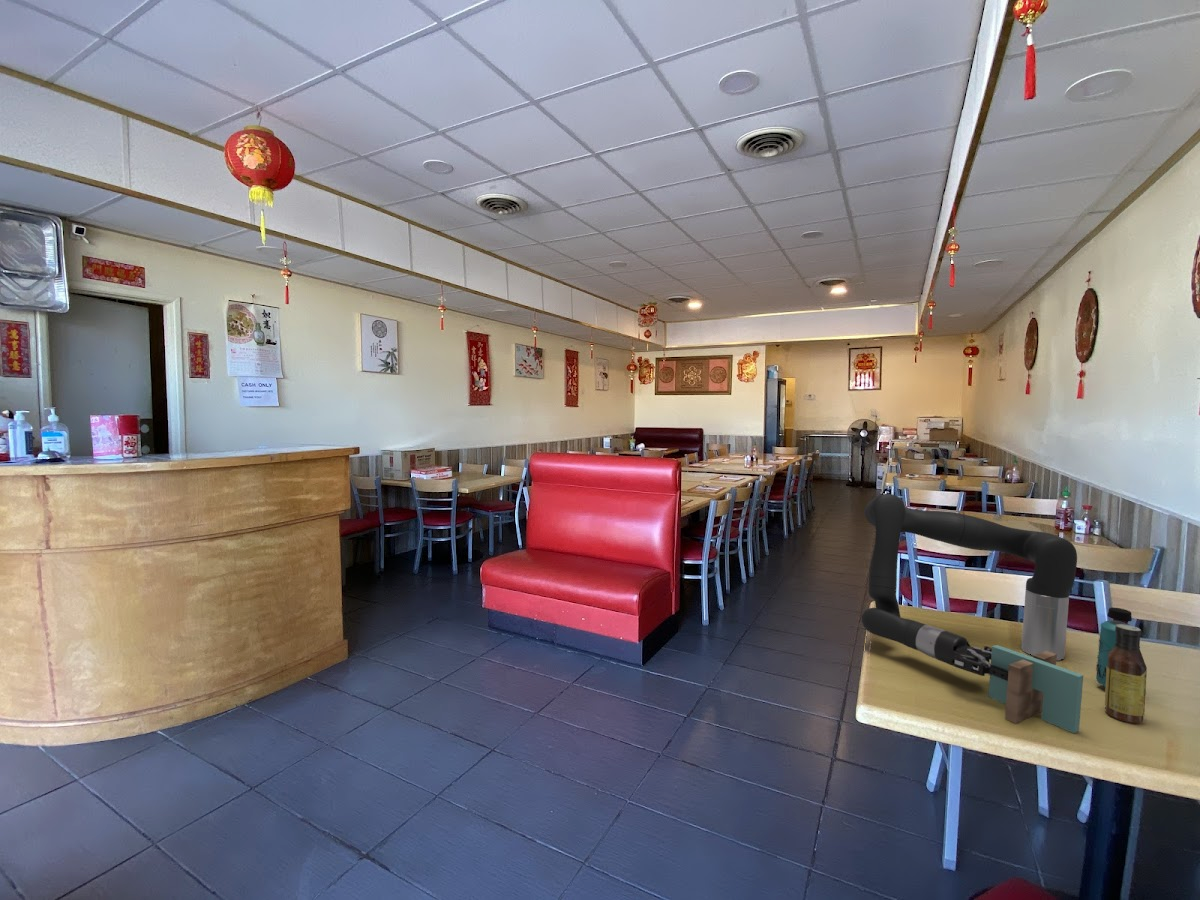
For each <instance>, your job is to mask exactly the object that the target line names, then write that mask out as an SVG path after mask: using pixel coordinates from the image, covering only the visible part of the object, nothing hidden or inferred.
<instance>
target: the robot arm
mask: <svg viewBox="0 0 1200 900" xmlns="http://www.w3.org/2000/svg"><path fill="white" fill-rule="evenodd" d="M863 514H864V517H865V520H866V521H867V522H868V523H869V524H870V525H871V526H872V527H874V528H875V538H874V539H875V540H874V546H873V551H872V555H871V559H870V565H869V571H868V573H869V574H868V588H867V590H868V591H867V592H868V595H869V597H870V598H872V599H873V600H874V605H875V607H870V608H868V609H866V610H864V611H863V612H862V614H861V617H860V619H861V620H860V621H861V623H862V627H864V629H865V630H866V631H867V632H868V633H870V634H873V635H876V636H878V637H880V638H884V639H888V640H891V641H894V642H896V643H899V644H902V645H903V646H905V647H908V648H910V649H913V650H916V651H918V652H921V653H922V654H924V655H925V656H928V657H931V658H933V659H935V660H938V661H940V662H941V663H944V664H947V665H950V666H951V667H952V666H953V667H955V668H957V669H960V670H963V671H965V672H969V673H972V674H974V675H978V676H980V677H981V676H982V677H984V676H985V675H987V676H989V677H990V676H991V675H993V676H996V677H999V678H1001V679H1004V680H1006V681H1008V671H1009V670H1006V669H1004V668H1001V667H999V666H996V665H994V666H993V664H991V662H990V661H991V654H992V647H990V646H986V645H984V646H983V649H982V648H981V647H978V646H977V647H976V646H971V645H970V644H969V643H970V642H969V641H968V640H967V638H966V637H965V636H962V635H959V634H957V633H953V632H951V631H948V630H945V629H942V628H940V627H936V626H933V625H929V624H926V623H923V622H919V621H917V620H913V619H909V618H905V617H901V613H900V607H899V601H898V599H897V587H898V586H897V585H898V584H897V583H898V579H897V578H898V558H899V546H900V540H901V535H902V533H908V534H912V535H916V536H917V535H918V536H920V537H924V538H927V539H931V540H934V541H938V542H941V543H946V544H950V545H953V546H957V547H961V548H965V549H970V550H974V551H975V550H977V551H988V552H989V551H990V552H991V551H992V552H1002V553H1005V554H1008V555H1009V554H1010V555H1013V556H1016V557H1020V558H1021V559H1025V560H1027V561H1030V562H1032V563H1034V568H1033V569H1034V570H1033V576H1032V577H1029V578H1027V579H1026V582H1025V596H1024V606H1023V607H1024V608H1023V609H1024V610H1023V620H1022V621H1023V622H1022V635H1021V646H1020V647H1021V648H1020V649H1021V651H1023V652H1024V653H1026V654H1027V655H1030V654H1031V655H1030V656H1033V655H1036V654H1039V653H1041V652H1044V651H1049V652H1052V653H1055V654H1057V659H1056V661H1062V660H1061V659H1063V660H1064V659H1065V652H1066V639H1067V627H1068V615H1069V601H1070V592H1071V590H1072V589H1073V587H1074V585H1075V579H1076V573H1077V564H1078V553H1077V550H1076V547H1075V545H1074V544H1073V543H1072V542H1071V541H1069V540H1068V539H1065V538H1064V537H1062V536H1058V535H1055V534H1053V533H1049V532H1046V531H1045V532H1044V531H1043V532H1042V531H1035V530H1026V529H1022V528H1015V527H1010V526H1006V525H1003V524H1000V523H997V522H993V521H990V520H987V519H983V518H980V517H978V516H977V517H976V516H973V515H968V514H963V513H959V512H952V511H944V510H943V511H942V510H941V511H940V510H921V509H920V510H919V509H915V508H911V507H907V506H905V504H904V502H903V500H902V499H901V498H900V497H899V496H897V495H895V494H893V493H885V494H880V495H878V496H876V497H875V498H873V499H872V500H870V501H869V502H867V504H866V506H865V508H864V511H863Z"/></svg>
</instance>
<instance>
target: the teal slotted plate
mask: <svg viewBox="0 0 1200 900" xmlns="http://www.w3.org/2000/svg"><path fill="white" fill-rule="evenodd" d="M991 648H992V654H991V660H990V663H991V664H993V666H994V665H996V666H999V667H1001V668H1004V669H1006V670H1009V664H1012V663H1015V662H1017V661H1020V660H1026V661H1029V662H1031V663H1034V664H1033V677H1032V688H1033V689H1036V690H1038V691H1041V692H1043V704H1042V711H1041V717H1040V718H1041V719H1042V721H1044V722H1046V723H1048V722H1049V724H1051V725H1053V724H1054V725H1053V726H1055V725H1056V727H1058V726H1059V727H1058V728H1060V727H1061V729H1062V728H1063V730H1065V731H1067V730H1068V731H1067V732H1069V731H1070V733H1072V734H1076V733H1078V732H1080V720H1081V711H1082V699H1083V698H1082V697H1083V685H1084V674H1081V673H1078V672H1076V671H1072V670H1070V669H1067V668H1064V667H1061V666H1059V665H1057V664H1056V665H1053V664H1050V663H1048V662H1045V661H1042V660H1039V659H1036V658H1033V657H1032V656H1031V655H1030V656H1029V655H1028V654H1027V655H1026V654H1025V653H1021V652H1018V651H1015V650H1013V649H1009V648H1007V647H1003V646H1001V645H997V644H996V645H992V646H991ZM1007 685H1008V681H1006V680H1004V679H1001V678H999V677H996V676H993V675H991V676H990V675H989V684H988V695H987V696H988V698H991V699H993V700H995V701H997V702H1000V703H1002V704H1004V705H1006V698H1007ZM1041 719H1040V720H1041Z"/></svg>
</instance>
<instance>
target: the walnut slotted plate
mask: <svg viewBox="0 0 1200 900" xmlns="http://www.w3.org/2000/svg"><path fill="white" fill-rule="evenodd" d="M1032 656H1033V658H1036V659H1039V660H1042V661H1045V662H1048V663H1050V664H1053V665H1056V666H1057V660H1056V659H1057V654H1055V653H1052V652H1049V651H1044V652H1041V653H1039V654H1036V655H1032ZM1033 664H1034V663H1031V662H1029V661H1026V660H1020V661H1017V662H1015V663H1012V664H1009V671H1008V685H1007V698H1006V704H1005V712H1004V713H1005V714H1004V719H1005V720H1007V721H1009V722H1010V723H1013V724H1018V723H1020V722H1021V721H1024V720H1026V719H1028V718H1030V717H1032V716H1034V715H1037V714H1039V713H1042V704H1043V692H1041V691H1038V690H1036V689H1033V688H1032V677H1033Z"/></svg>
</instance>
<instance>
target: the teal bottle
mask: <svg viewBox="0 0 1200 900" xmlns="http://www.w3.org/2000/svg"><path fill="white" fill-rule="evenodd" d="M1107 617H1109V618H1111V620H1110V619H1109V620H1108V619H1107V620H1105V621H1104V622H1101V623H1100V631H1099V638H1098V652H1097V659H1096V660H1097V662H1096V666H1095V672H1096V674H1095V679H1096V682H1097V683H1098V684H1099V685H1102V686H1103V687H1106V669H1107V665H1108V664H1107V662H1108V653H1109V652H1110V651H1111V650H1112V649H1113V648H1114V646H1115V642H1116V631H1115V627H1116V625H1117V624H1124V625H1129V626H1132V625H1131V624H1129V623H1126V622H1132V620H1133V619H1132V617H1133V616H1132V612H1131V611H1130V610H1128V609H1124V608H1120V607H1119V608H1118V607H1109V608H1108V612H1107ZM1112 619H1114V620H1112Z"/></svg>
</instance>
